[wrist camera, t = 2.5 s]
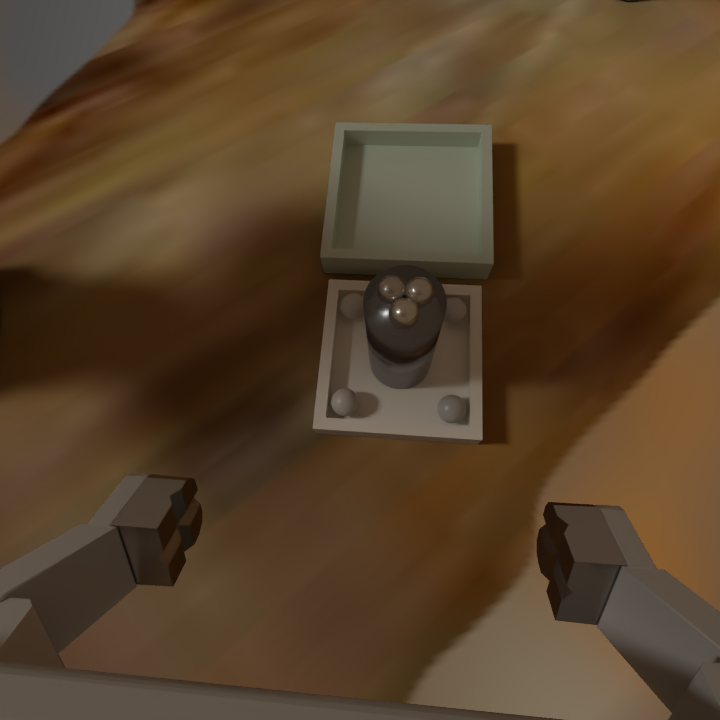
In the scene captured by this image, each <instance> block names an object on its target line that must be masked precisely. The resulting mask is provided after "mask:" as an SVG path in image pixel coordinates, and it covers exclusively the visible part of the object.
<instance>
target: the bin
mask: <svg viewBox="0 0 720 720" xmlns="http://www.w3.org/2000/svg"><path fill="white" fill-rule="evenodd" d="M320 260H321V264H322V267H323V271H324V273H337V274H362V275H377V274H378V273H380V272H381V271H383V270H385V269H387V268H390V267H393V266H398V265H412V266H416V267H420V268H422V269H425V270H427V271H428V272H430V273H431V274H433V275H434V276H435V277H436V278H459V279H484V280H487V279H488V276H489V274H490V272H491V269H492V267H493V265H494V243H493V175H492V125H469V124H402V123H336V125H335V133H334V141H333V150H332V158H331V167H330V175H329V184H328V192H327V201H326V209H325V217H324V226H323V234H322V243H321V251H320Z"/></svg>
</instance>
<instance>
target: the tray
mask: <svg viewBox="0 0 720 720" xmlns="http://www.w3.org/2000/svg"><path fill="white" fill-rule="evenodd" d="M369 283H370V281H359V280H335V279H329V283H328V292H327V301H326V311H325V320H324V329H323V338H322V347H321V356H320V365H319V374H318V384H317V393H316V402H315V411H314V420H313V430H314V431H315V432H316V433H317V434H331V435H346V436H360V437H375V438H390V439H404V440H419V441H433V442H448V443H462V444H478V443H479V442H481V441H482V440H483V435H482V286H478V285H454V284H442V286H443V288H444V290H445V293H446V297H447V309H446V314H445V317H444V320H443V324H442V327H441V331H440V334H439V338H438V341H437V345H436V348H435V352H434V355H433V358H432V362H431V365H430V369H429V371H428V373H427V375H426V377H425V378H424V379H423V380H422V381H421V382H420V383H419V384H417V385H415V386H413V387H411V388H407V389H394V388H390V387H388V386H386V385H384V384H382V383H381V382H380V381H379V380H378V379H377V378H376V377H375V376H374V374H373V372H372V370H371V367H370V360H369V352H368V343H367V335H366V326H365V318H364V310H363V297H364V293H365V290H366V288H367V286H368V284H369Z"/></svg>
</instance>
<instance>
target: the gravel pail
mask: <svg viewBox="0 0 720 720" xmlns="http://www.w3.org/2000/svg"><path fill="white" fill-rule="evenodd" d="M446 309H447V297H446V293H445V290H444V288H443V286H442V284H441V283H440V281H439V280H438V279H437V278H436V277H435V276H434V275H433V274H431V273H430V272H428V271H427V270H425V269H422V268H420V267H416V266H412V265H398V266H393V267H390V268H387V269H385V270H383V271H381V272H380V273H378V274H377V275H376V276H375V277H374V278H373V279H372V280H371V281H370V283H369V284H368V286H367V288H366V290H365V293H364V297H363V310H364V318H365V326H366V335H367V343H368V352H369V360H370V367H371V370H372V372H373V374H374V376H375V377H376V378H377V379H378V380H379V381H380V382H381V383H382V384H384V385H386V386H388V387H390V388H394V389H407V388H411V387H413V386H415V385H417V384H419V383H420V382H421V381H422V380H423V379H424V378H425V377H426V375H427V373H428V371H429V369H430V365H431V362H432V358H433V355H434V352H435V348H436V345H437V341H438V338H439V334H440V331H441V327H442V324H443V320H444V317H445V314H446Z"/></svg>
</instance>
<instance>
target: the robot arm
mask: <svg viewBox="0 0 720 720" xmlns="http://www.w3.org/2000/svg"><path fill="white" fill-rule="evenodd" d="M197 491H198V489H197V485H196V481H195V479H193V478H190V477H179V476H169V475H158V474H143V473H133V472H132V473H130V474H128V475H126V476H125V477H124V478H123V479H122V481H121V482H120V483H119V484H118V486H117V487H116V488H115V489H114V491H113V492H112V493H111V494H110V496H109V497H108V498H107V500H106V501H105V502H104V503H103V505H102V506H101V507H100V508H99V510H98V511H97V512H96V513H95V515H94V516H93V517H92V518H91V520H90V521H89V522H88V524H80V525H78V526H76V527H74V528H72V529H71V530H69V531H67V532H65V533H64V534H62V535H60V536H58V537H56V538H55V539H53V540H51V541H49V542H48V543H46V544H44V545H42V546H40V547H39V548H37V549H35V550H33V551H31V552H30V553H28V554H26V555H24V556H23V557H21V558H19V559H17V560H15V561H14V562H12V563H10V564H8V565H7V566H5V567H3V568H1V569H0V720H561V719H552V718H542V717H532V716H523V715H513V714H503V713H494V712H484V711H474V710H465V709H456V708H446V707H436V706H427V705H426V706H425V705H417V704H407V703H398V702H388V701H378V700H369V699H359V698H349V697H339V696H330V695H320V694H310V693H301V692H291V691H281V690H272V689H262V688H252V687H243V686H233V685H223V684H214V683H204V682H195V681H185V680H175V679H166V678H156V677H147V676H137V675H127V674H118V673H108V672H99V671H89V670H79V669H70V668H66V667H65V665H64V663H63V661H62V660H61V658H60V656H59V654H58V653H60V652H61V651H62V650H63V649H64V648H65V647H67V646H68V645H69V644H70V643H71V642H72V641H74V640H75V639H76V638H77V637H78V636H79V635H81V634H82V633H83V632H84V631H85V630H86V629H88V628H89V627H90V626H91V625H92V624H93V623H95V622H96V621H97V620H98V619H99V618H100V617H102V616H103V615H104V614H105V613H106V612H107V611H109V610H110V609H111V608H112V607H113V606H114V605H116V604H117V603H118V602H119V601H120V600H121V599H123V598H124V597H125V596H126V595H127V594H128V593H130V592H131V591H132V590H133V589H134V588H135V587H136V584H138V585H155V586H172V587H173V586H174V584H175V582H176V580H177V578H178V576H179V574H180V572H181V570H182V568H183V566H184V564H185V562H186V558H185V554H184V552H185V551H186V550H188V549H189V548H190V547H192V546H193V545H194V544H195V542H196V540H197V538H198V536H199V533H200V529H201V524H202V508H201V504H200V503H199V502H198V501H197V500H196V499H195V498H194V496H195V494H196V492H197ZM543 516H544V519H545V522H546V524H545V525H544V526H543V527H541V528H540V529H539V532H538V537H537V557H538V563H539V567H540V570H541V573H542V574H543V575H544V576H545V577H546V578H547V579H548V580H549V584H548V588H547V594H548V598H549V601H550V604H551V607H552V611H553V614H554V617H555V620H558V621H566V622H576V623H584V624H593V625H598V626H597V628H598V629H599V630H600V631H601V632H602V633H603V634H604V636H605V637H606V638H607V639H608V640H609V641H610V643H611V644H612V645H613V646H614V647H615V648H616V649H617V651H618V652H619V653H620V654H621V655H622V656H623V658H624V659H625V660H626V661H627V662H628V663H629V664H630V665H631V667H632V668H633V669H634V670H635V671H636V672H637V673H638V675H639V676H640V677H641V678H642V679H643V680H644V682H645V683H646V684H647V685H648V686H649V687H650V689H651V690H652V691H653V692H654V693H655V694H656V695H657V697H658V698H659V699H660V700H661V701H662V702H663V703H664V705H665V706H666V707H667V708H668V709H669V710H670V712H671V713H672V714H671V716H670V718H669V719H668V720H720V612H719V611H718V610H717V609H715V608H714V607H713V606H711V605H710V604H709V603H707V602H706V601H705V600H703V599H702V598H701V597H700V596H698V595H697V594H695V593H694V592H693V591H692V590H690V589H689V588H688V587H686V586H685V585H684V584H682V583H681V582H680V581H679V580H677V579H676V578H675V577H673V576H672V575H671V574H669V573H668V572H667V571H665V570H660V569H657V568H656V566H655V565H654V563H653V561H652V559H651V558H650V556H649V554H648V552H647V550H646V549H645V547H644V545H643V543H642V542H641V540H640V538H639V536H638V534H637V533H636V531H635V529H634V527H633V525H632V524H631V522H630V520H629V519H628V517H627V515H626V513H625V511H624V510H623V509H622V508H621V507H620V506H609V505H589V504H572V503H555V502H548V503H547V505H546V506H545V510H544V513H543Z"/></svg>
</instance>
